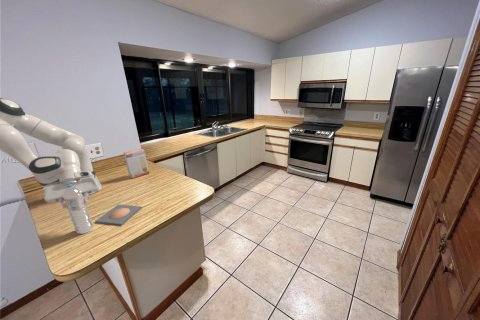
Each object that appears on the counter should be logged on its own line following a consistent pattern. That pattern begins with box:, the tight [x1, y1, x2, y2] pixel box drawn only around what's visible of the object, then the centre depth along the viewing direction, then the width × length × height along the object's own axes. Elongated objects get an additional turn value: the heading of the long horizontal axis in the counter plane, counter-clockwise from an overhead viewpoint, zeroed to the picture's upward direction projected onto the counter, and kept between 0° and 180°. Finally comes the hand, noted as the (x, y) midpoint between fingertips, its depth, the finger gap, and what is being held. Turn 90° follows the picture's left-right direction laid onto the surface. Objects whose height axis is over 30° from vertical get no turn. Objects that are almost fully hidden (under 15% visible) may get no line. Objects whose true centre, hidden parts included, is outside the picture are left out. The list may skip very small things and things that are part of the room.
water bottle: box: [63, 184, 94, 235], centre depth 94 cm, size 7×7×25 cm
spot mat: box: [94, 204, 143, 226], centre depth 109 cm, size 16×16×1 cm
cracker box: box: [123, 148, 150, 180], centre depth 158 cm, size 14×6×21 cm, turn 135°
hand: (75, 204), depth 92 cm, fingers closed on water bottle, 6 cm apart
